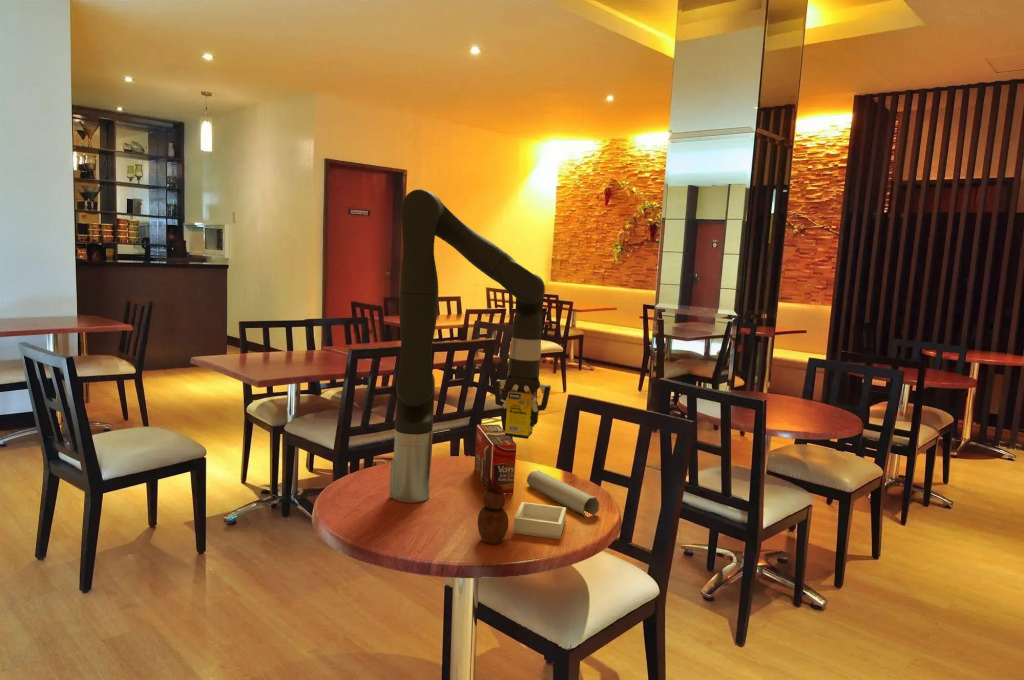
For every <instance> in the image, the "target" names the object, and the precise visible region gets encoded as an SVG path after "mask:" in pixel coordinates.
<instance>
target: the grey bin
mask: <svg viewBox="0 0 1024 680" xmlns="http://www.w3.org/2000/svg"><path fill="white" fill-rule="evenodd" d="M566 516H567V507H566V506H565V507H564V506H557V505H549V504H542V503H535V502H534V503H533V502H526V501H521V503H520V505H519V507H518V509H517V511H516V512H515V515H514V517H513V527H512V533H513V534H517V535H527V536H531V535H532V537H533V536H534V537H540V538H545V539H546V538H549V539H556V540H561V538H562V537H561V536H562V534H563V530H564V527H565V523H566V518H567V517H566Z"/></svg>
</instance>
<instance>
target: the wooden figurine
mask: <svg viewBox="0 0 1024 680" xmlns="http://www.w3.org/2000/svg"><path fill="white" fill-rule="evenodd" d="M482 502H483V506H482V507H481V508H480V510H479V512H478V515H477V530H478V533H479V536H480V539H481V540H482V541H483V542H485V543H487V544H491V545H497V544H500V543H501V542H503V541H504V539H505V538H506V535H507V533H508V530H509V516H508V514H507V513H508V512H506V510H505V509H504V507H505V504H506V494H504V493H503V492H502V486H500V487H499V481H498V482H497V483H496V479H495V476H494V477H493V481H492V482H491V477H490V472H488V478H487V490H486V491H485V493H484V495H483V501H482Z"/></svg>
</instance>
